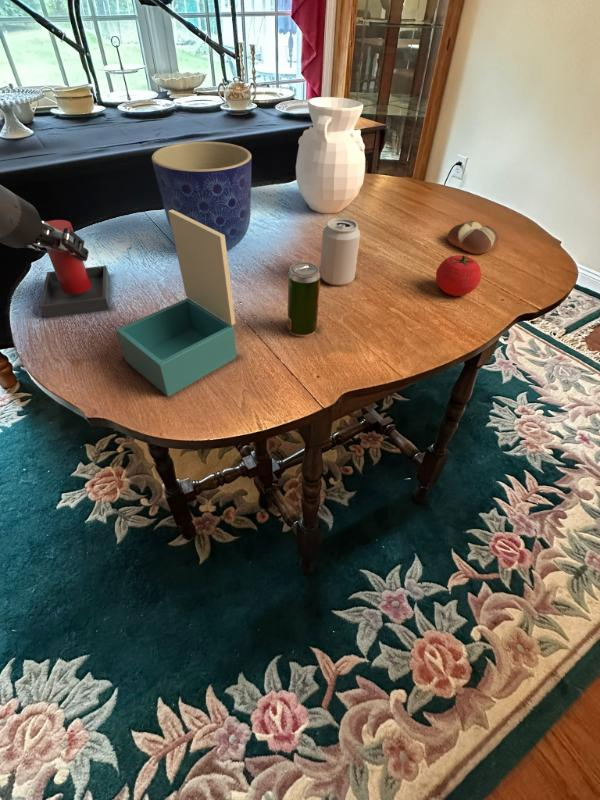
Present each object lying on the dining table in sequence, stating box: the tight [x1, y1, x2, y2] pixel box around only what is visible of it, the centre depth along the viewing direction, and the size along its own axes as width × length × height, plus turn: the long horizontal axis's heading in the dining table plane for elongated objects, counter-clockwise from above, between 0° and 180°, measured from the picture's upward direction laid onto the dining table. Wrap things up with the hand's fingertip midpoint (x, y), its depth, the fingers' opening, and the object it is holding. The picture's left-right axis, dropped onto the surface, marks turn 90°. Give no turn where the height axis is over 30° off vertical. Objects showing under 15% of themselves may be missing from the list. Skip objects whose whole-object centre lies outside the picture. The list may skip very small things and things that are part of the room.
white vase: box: [295, 96, 366, 214], centre depth 113 cm, size 19×18×25 cm
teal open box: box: [115, 297, 237, 397], centre depth 70 cm, size 14×12×6 cm
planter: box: [151, 141, 253, 250], centre depth 97 cm, size 21×21×19 cm
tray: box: [39, 265, 111, 319], centre depth 84 cm, size 11×13×3 cm
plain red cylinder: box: [45, 219, 91, 294], centre depth 79 cm, size 5×5×12 cm
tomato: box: [435, 254, 482, 297], centre depth 88 cm, size 9×9×8 cm
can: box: [319, 217, 361, 287], centre depth 89 cm, size 8×8×12 cm
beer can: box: [286, 261, 321, 338], centre depth 75 cm, size 5×5×12 cm
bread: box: [446, 220, 499, 255], centre depth 106 cm, size 11×11×5 cm
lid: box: [168, 210, 236, 326], centre depth 66 cm, size 14×12×1 cm
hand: (71, 253), depth 80 cm, fingers closed on plain red cylinder, 5 cm apart
